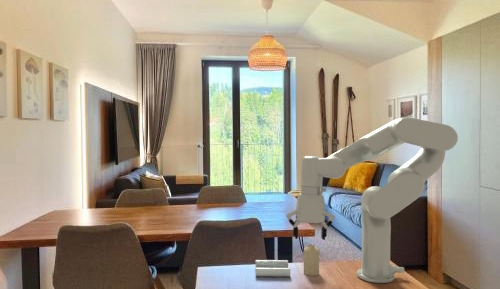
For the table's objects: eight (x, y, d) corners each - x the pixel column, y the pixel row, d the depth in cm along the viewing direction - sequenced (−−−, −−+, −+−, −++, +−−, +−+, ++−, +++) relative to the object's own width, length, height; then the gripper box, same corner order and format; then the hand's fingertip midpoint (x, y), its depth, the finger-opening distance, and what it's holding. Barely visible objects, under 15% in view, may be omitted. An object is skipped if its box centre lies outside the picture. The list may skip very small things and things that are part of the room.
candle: (318, 276, 133) (319, 248, 132) (303, 275, 134) (303, 247, 134) (319, 271, 138) (319, 243, 138) (304, 270, 139) (304, 243, 139)
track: (287, 268, 140) (287, 260, 140) (290, 277, 131) (290, 268, 131) (255, 268, 141) (255, 260, 141) (255, 277, 132) (255, 268, 132)
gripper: (333, 190, 139) (331, 236, 139) (286, 188, 139) (284, 234, 140) (338, 193, 131) (336, 242, 132) (288, 191, 132) (286, 240, 132)
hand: (309, 238), depth 136 cm, fingers open, 9 cm apart
